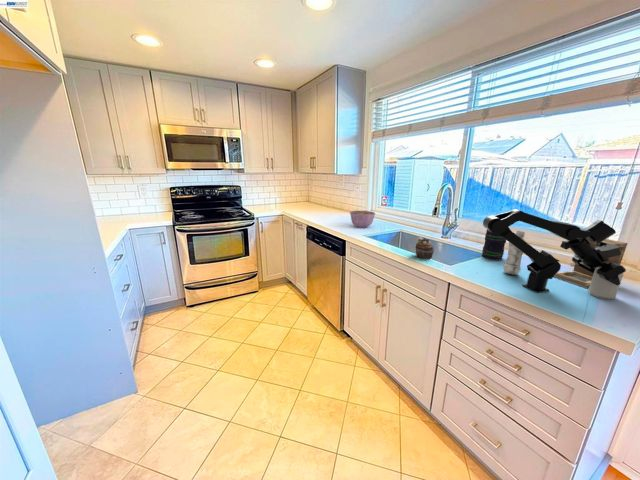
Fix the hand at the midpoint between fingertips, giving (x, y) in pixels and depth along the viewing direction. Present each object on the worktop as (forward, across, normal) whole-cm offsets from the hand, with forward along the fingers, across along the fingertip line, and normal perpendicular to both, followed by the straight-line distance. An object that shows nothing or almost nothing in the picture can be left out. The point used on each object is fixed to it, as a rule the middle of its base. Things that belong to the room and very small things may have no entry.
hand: (610, 280), depth 101 cm
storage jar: (-14, +40, +24) cm, 48 cm away
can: (+4, 0, +6) cm, 7 cm away
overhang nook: (+6, +17, +4) cm, 18 cm away
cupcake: (-40, +29, +50) cm, 70 cm away
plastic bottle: (-14, +16, +24) cm, 31 cm away
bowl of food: (-68, +95, +78) cm, 140 cm away
